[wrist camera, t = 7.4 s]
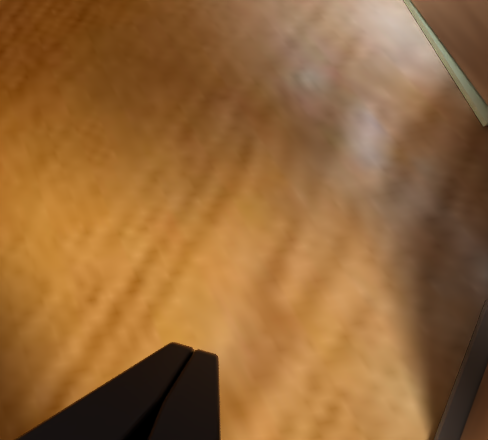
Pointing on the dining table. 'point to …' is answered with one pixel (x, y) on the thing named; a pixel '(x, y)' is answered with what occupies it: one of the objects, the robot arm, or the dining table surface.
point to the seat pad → (452, 68)
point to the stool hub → (469, 391)
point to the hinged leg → (462, 35)
